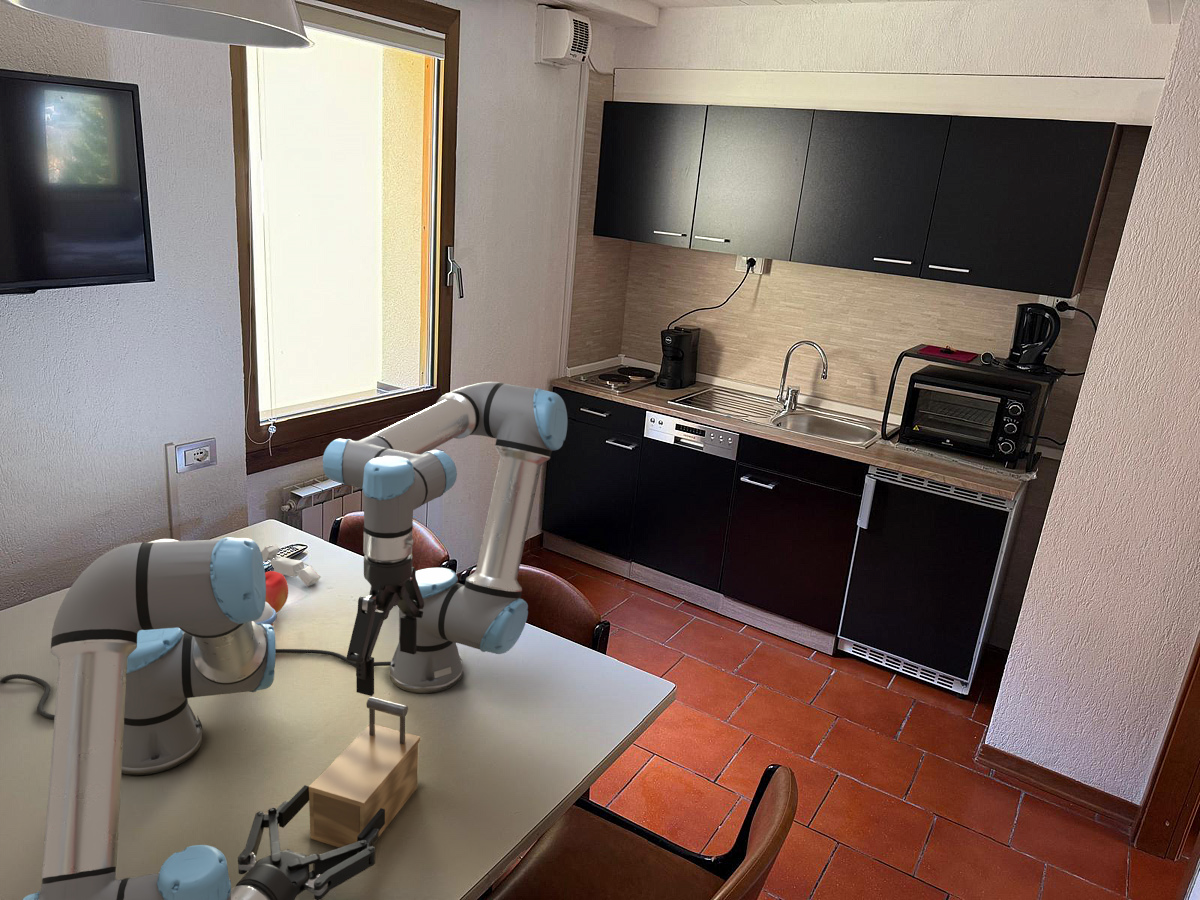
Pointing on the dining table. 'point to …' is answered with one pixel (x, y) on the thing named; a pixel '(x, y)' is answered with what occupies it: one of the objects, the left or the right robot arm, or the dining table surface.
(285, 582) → the apple
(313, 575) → the white elongated piece
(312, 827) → the chest
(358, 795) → the lid
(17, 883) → the dining table surface
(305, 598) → the dining table surface
